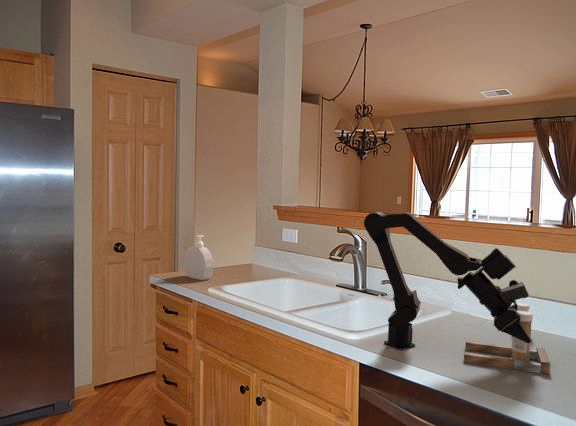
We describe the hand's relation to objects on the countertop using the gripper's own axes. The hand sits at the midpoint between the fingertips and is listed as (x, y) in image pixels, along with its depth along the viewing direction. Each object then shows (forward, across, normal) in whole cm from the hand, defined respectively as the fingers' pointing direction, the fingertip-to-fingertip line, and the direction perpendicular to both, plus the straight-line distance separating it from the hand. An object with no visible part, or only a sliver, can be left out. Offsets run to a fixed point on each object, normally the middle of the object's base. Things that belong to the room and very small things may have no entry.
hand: (528, 337), depth 127 cm
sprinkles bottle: (+4, 0, +6) cm, 7 cm away
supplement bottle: (+5, +27, +5) cm, 28 cm away
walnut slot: (+1, 0, +9) cm, 9 cm away
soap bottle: (-90, +54, +100) cm, 145 cm away
